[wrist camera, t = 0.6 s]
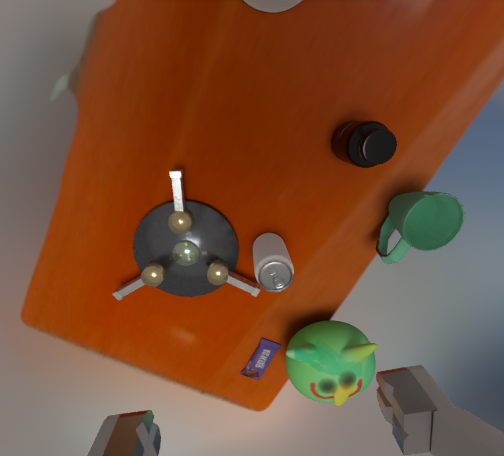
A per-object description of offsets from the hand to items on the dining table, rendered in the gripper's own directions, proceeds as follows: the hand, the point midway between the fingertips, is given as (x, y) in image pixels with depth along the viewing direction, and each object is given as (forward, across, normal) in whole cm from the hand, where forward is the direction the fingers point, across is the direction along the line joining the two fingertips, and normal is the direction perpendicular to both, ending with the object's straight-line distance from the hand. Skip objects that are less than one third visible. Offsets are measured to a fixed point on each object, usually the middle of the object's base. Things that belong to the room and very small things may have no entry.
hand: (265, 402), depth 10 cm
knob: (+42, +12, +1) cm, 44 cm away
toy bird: (+44, -10, +37) cm, 59 cm away
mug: (+44, -27, +12) cm, 53 cm away
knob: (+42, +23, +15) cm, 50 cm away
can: (+44, -2, +14) cm, 46 cm away
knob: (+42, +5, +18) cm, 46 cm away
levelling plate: (+44, +14, +11) cm, 47 cm away
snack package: (+45, +4, +42) cm, 61 cm away
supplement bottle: (+44, -19, -4) cm, 48 cm away
